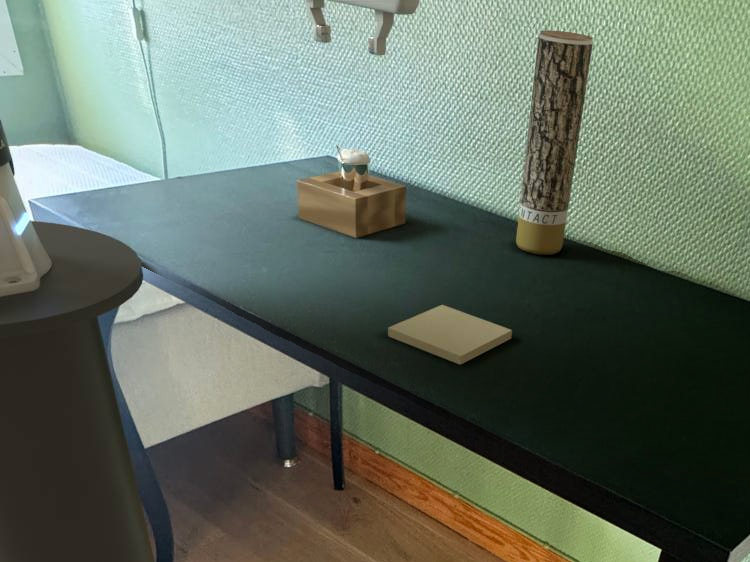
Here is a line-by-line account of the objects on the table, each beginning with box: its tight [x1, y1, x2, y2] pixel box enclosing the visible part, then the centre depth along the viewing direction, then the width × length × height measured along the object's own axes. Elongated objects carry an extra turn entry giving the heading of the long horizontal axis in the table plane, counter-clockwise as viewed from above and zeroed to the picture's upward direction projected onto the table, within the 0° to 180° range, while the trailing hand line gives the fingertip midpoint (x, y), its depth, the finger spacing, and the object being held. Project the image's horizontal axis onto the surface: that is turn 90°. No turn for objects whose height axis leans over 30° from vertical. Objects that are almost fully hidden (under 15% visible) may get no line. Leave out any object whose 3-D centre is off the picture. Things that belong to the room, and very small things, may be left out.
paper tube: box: [515, 29, 594, 256], centre depth 108 cm, size 7×7×25 cm
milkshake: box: [335, 144, 371, 192], centre depth 114 cm, size 5×5×10 cm
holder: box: [296, 170, 407, 239], centre depth 116 cm, size 11×11×5 cm
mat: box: [387, 304, 513, 366], centre depth 90 cm, size 10×10×1 cm
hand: (349, 48), depth 104 cm, fingers open, 8 cm apart
